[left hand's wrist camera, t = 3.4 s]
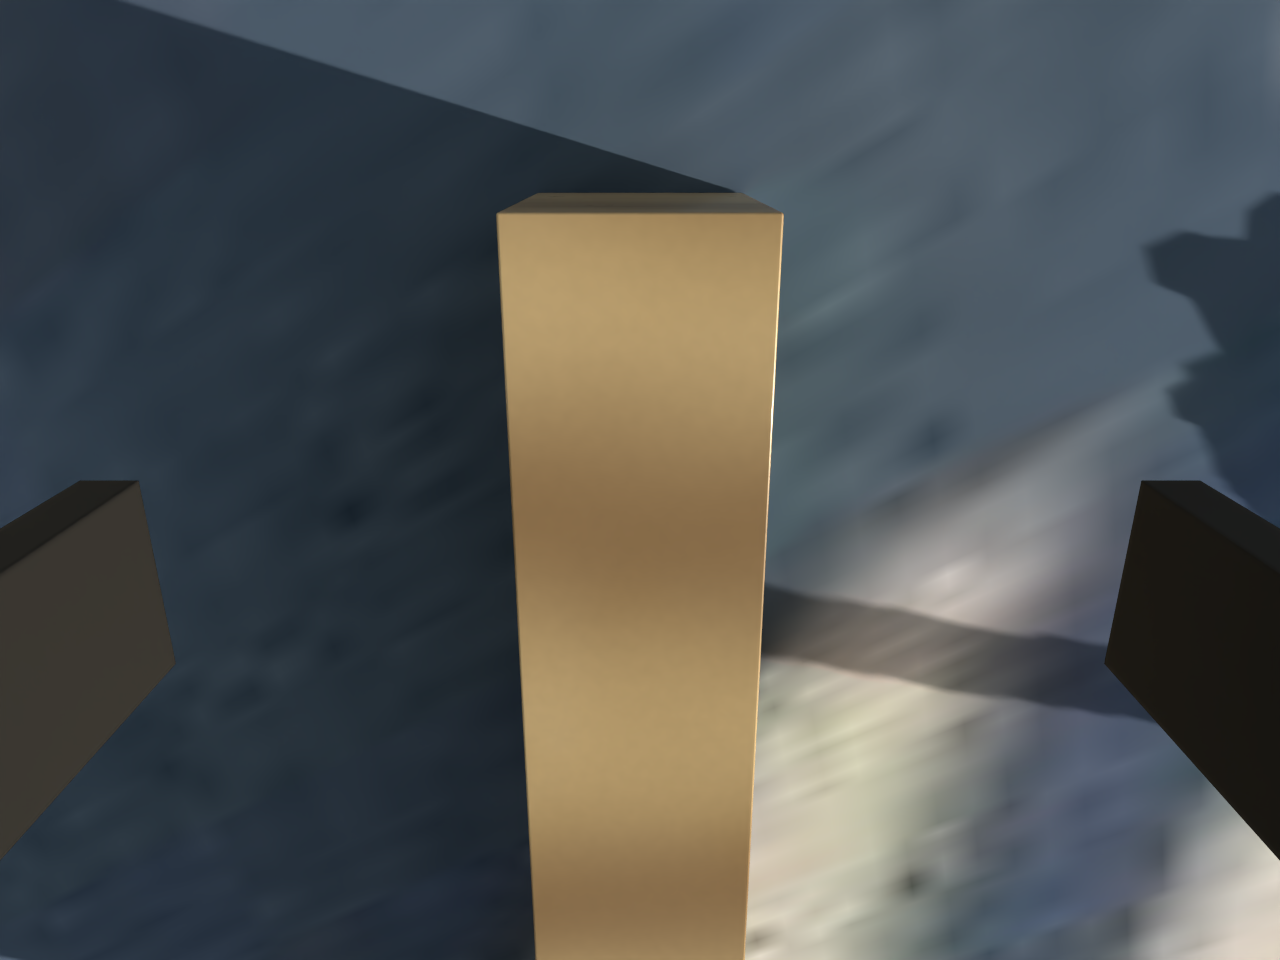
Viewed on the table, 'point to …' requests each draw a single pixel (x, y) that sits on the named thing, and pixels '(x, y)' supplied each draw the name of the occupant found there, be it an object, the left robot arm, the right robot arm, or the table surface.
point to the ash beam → (639, 557)
